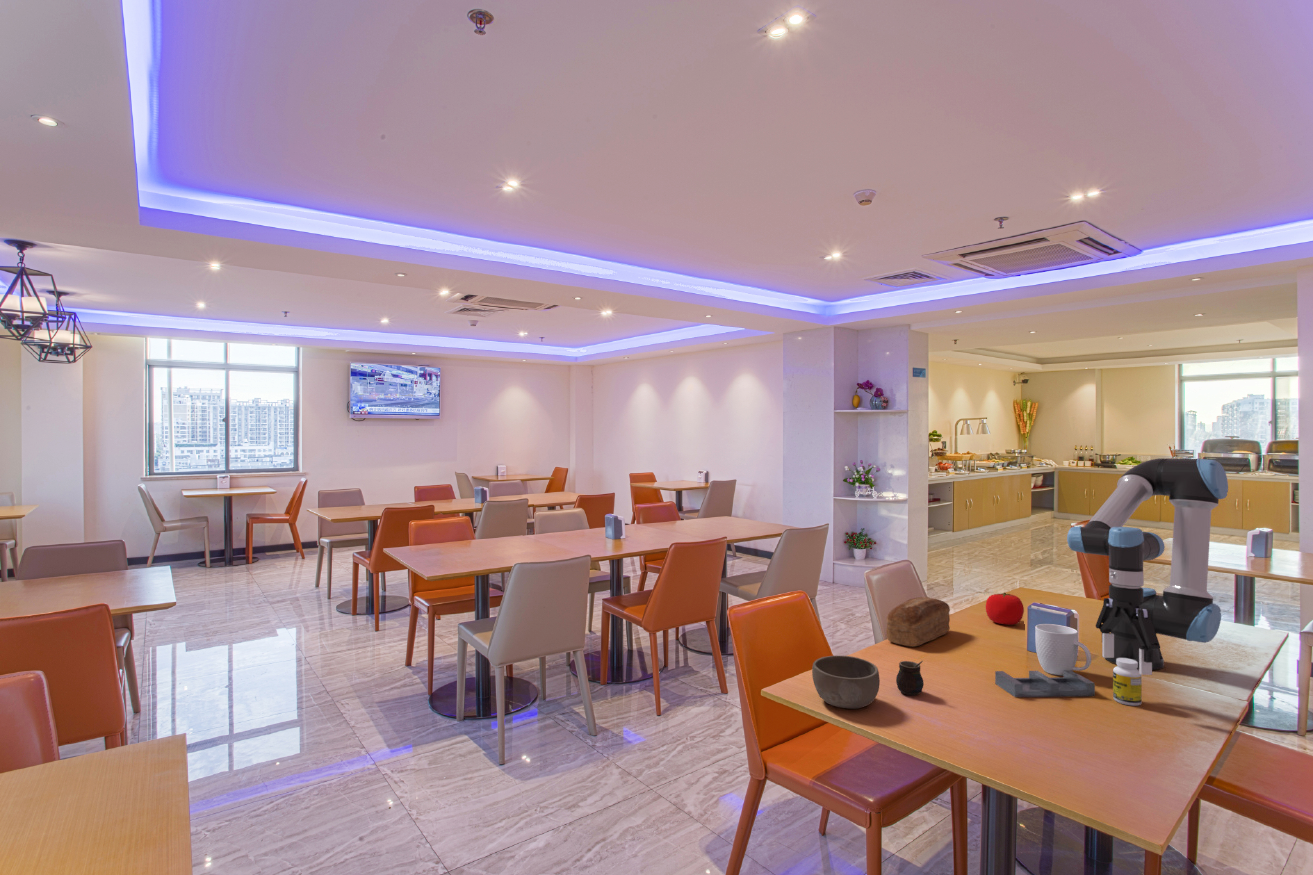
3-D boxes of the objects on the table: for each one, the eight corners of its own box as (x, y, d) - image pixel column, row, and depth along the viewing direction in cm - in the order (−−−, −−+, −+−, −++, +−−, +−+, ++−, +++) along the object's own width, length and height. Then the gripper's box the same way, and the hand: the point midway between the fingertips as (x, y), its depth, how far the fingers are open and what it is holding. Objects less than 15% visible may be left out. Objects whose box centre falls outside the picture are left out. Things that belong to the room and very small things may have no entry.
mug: (1099, 677, 193) (1099, 633, 193) (1081, 685, 187) (1081, 639, 187) (1046, 663, 205) (1046, 621, 205) (1028, 670, 199) (1027, 627, 199)
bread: (955, 632, 239) (954, 595, 239) (915, 651, 218) (915, 610, 219) (922, 626, 248) (922, 590, 248) (881, 643, 227) (881, 604, 228)
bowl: (845, 721, 164) (844, 681, 164) (798, 697, 180) (798, 660, 180) (894, 708, 172) (894, 669, 172) (845, 685, 188) (845, 650, 188)
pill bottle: (1107, 697, 178) (1107, 657, 178) (1128, 697, 178) (1128, 656, 178) (1125, 707, 171) (1125, 664, 172) (1147, 706, 172) (1147, 664, 172)
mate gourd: (902, 685, 187) (902, 650, 187) (929, 693, 182) (929, 657, 182) (891, 692, 182) (891, 656, 182) (918, 700, 177) (918, 663, 177)
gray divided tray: (1071, 682, 189) (1070, 670, 189) (1094, 696, 179) (1094, 683, 179) (995, 683, 188) (995, 671, 188) (1014, 697, 178) (1014, 683, 178)
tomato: (993, 627, 245) (992, 596, 245) (981, 617, 259) (981, 588, 259) (1030, 629, 243) (1029, 597, 243) (1016, 619, 257) (1015, 589, 257)
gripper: (1081, 576, 187) (1081, 650, 187) (1147, 595, 163) (1148, 681, 162) (1106, 576, 188) (1107, 651, 187) (1177, 596, 163) (1178, 682, 162)
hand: (1126, 665), depth 175 cm, fingers open, 13 cm apart
